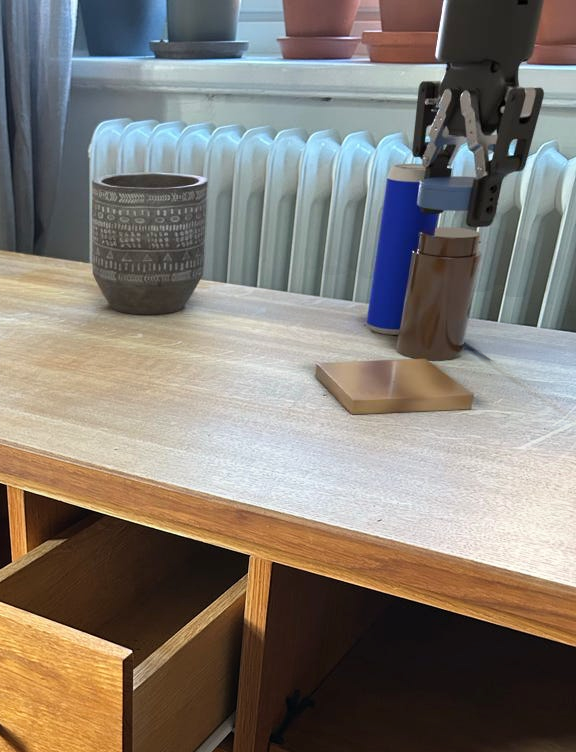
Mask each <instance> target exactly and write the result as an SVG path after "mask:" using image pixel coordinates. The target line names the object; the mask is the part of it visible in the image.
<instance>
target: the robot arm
mask: <svg viewBox="0 0 576 752" xmlns="http://www.w3.org/2000/svg"><path fill="white" fill-rule="evenodd" d="M544 2H545V0H443V2H442V3H443V4H442V10H441V17H440V22H439V29H438V37H437V42H436V49H435V58H436V60H437V61H438V62H439V63H446V67H445V71H444V73H443V76H442V79H441V80H425V81H421V82H420V84H419V86H418V91H417V98H416V99H417V100H416V111H415V119H414V120H415V121H414V129H413V138H412V139H413V140H412V150H411V151H412V153H411V154H412V157H414V158H419V159H420V160H421V164H422V165H423V167H425V176H424V179H427V178H434V177H451V176H452V172H453V168H451V166H452V165H453V163H454V161H455V158H456V156H457V154H458V152H459V150H460V148H461V146H463V145H465V144H467V149H468V150H469V151H470V152H471V153H472V154H473V158H474V159H473V161H474V167H475V168H474V169H475V170H474V171H475V177H477V178H479V179H473V185H472V190H471V196H470V201H469V207H468V211H467V212H466V219H465V224H466V226H468V227H471V228H486V227H489V226H491V225H492V224H493V222H494V218H495V216H496V214H497V210H498V205H499V199H500V195H501V189H502V185H503V181H504V179H505V178H506V177H508V176H509V175H510V174H512V173H517V172H523V171H524V169H525V168H526V164H527V160H528V158H529V157H528V156H529V153H530V150H531V146H532V142H533V138H534V135H535V131H536V128H537V123H538V120H539V116H540V112H541V108H542V104H543V101H544V96H545V92H544V89H543V87H532V86H530V87H528V86H527V87H524V86H520V81H519V80H520V79H519V70H520V65H521V64H522V63H525V62H528V61H529V60H531V58H533V55H534V53H535V52H534V51H535V46H536V42H537V36H538V31H539V27H540V23H541V16H542V12H543V6H544ZM428 127H430V129H429V131H428V138H429V141H426V137H427V130H428ZM495 132H496V134H494V133H495ZM514 140H516V144H515V146H514V151H513V154H510V151H509V150H510V147H511V144H512V142H513V141H514ZM444 146H445V147H444ZM489 151H492V152H493V153H492V158H491V159H490V156H489V155H490V154H489ZM420 211H421V212H422V213H424V214H438V215H439V214H443V213H444V212H445V210H435V209H428V208H423V207H420Z"/></svg>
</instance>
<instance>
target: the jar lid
mask: <svg viewBox="0 0 576 752" xmlns="http://www.w3.org/2000/svg"><path fill="white" fill-rule="evenodd" d="M473 179H479V178H477V176H461V175H460V176H459V175H458V176H453V175H451V177H434V178H427V179H423V180H421V181H420V186H419V192H418V199H417V205H418V206H420V207H423V208H428V209H435V210H444V211H449V212H451V211H452V212H453V211H454V212H455V211H456V212H465V211H467V212H468V207H469V201H470V196H471V190H472V185H473Z"/></svg>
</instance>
